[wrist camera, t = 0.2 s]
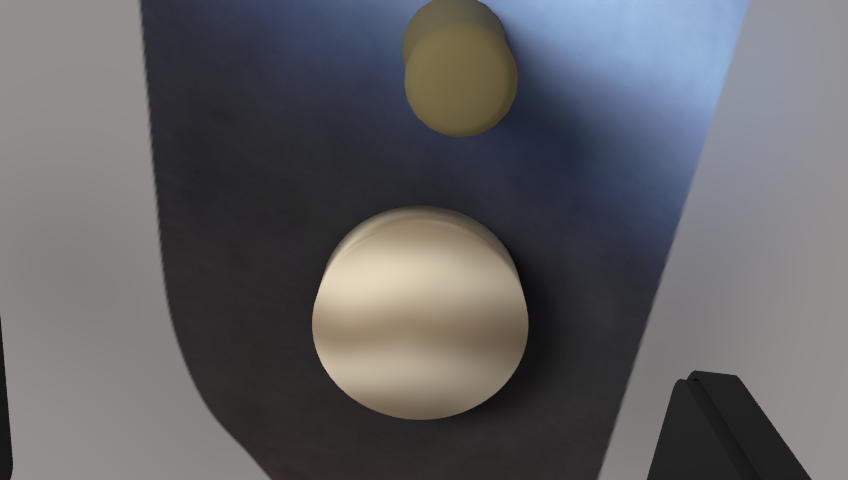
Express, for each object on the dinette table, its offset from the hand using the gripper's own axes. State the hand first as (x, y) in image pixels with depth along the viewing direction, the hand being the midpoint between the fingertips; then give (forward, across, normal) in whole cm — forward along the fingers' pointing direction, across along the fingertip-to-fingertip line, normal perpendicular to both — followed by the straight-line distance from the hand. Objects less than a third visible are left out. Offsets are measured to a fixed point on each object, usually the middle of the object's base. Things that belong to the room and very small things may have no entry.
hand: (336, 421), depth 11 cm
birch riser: (+36, -3, +15) cm, 39 cm away
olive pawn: (+36, -3, -1) cm, 36 cm away
